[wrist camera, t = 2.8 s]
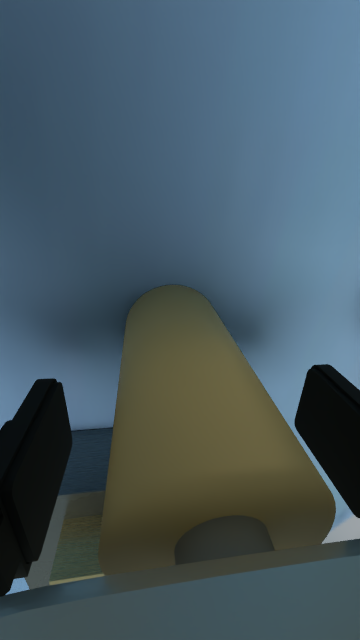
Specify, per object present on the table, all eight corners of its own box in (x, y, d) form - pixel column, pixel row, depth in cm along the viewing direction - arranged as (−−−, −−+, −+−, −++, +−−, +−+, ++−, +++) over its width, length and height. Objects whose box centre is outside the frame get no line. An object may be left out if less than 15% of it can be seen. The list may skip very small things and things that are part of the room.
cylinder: (122, 285, 13) (62, 578, 3) (220, 284, 14) (434, 523, 4) (128, 368, 15) (102, 704, 5) (212, 364, 16) (335, 655, 6)
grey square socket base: (24, 435, 16) (-41, 569, 10) (270, 415, 18) (330, 517, 13) (61, 555, 22) (32, 684, 16) (243, 530, 24) (276, 635, 18)
